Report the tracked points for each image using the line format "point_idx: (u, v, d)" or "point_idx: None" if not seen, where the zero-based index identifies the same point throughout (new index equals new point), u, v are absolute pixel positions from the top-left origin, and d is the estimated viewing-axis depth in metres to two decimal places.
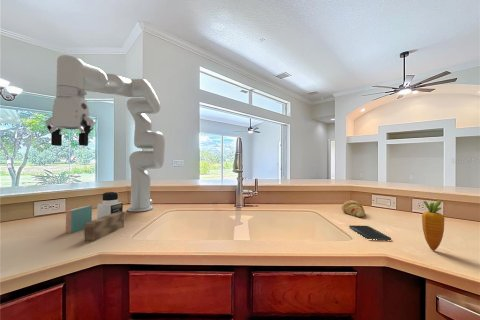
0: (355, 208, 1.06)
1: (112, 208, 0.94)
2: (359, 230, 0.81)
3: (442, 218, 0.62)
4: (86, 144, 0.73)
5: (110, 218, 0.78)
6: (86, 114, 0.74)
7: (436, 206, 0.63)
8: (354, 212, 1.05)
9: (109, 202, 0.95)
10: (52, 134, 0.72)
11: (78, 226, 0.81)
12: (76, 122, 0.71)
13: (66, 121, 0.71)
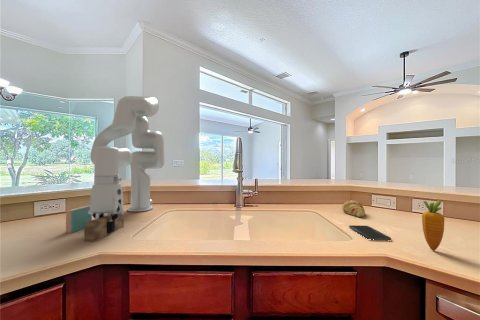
0: (355, 208, 1.06)
1: None
2: (359, 230, 0.81)
3: (442, 218, 0.62)
4: (113, 230, 0.79)
5: None
6: (121, 198, 0.78)
7: (436, 206, 0.63)
8: (354, 212, 1.05)
9: None
10: None
11: (78, 226, 0.81)
12: (113, 209, 0.75)
13: (103, 208, 0.76)
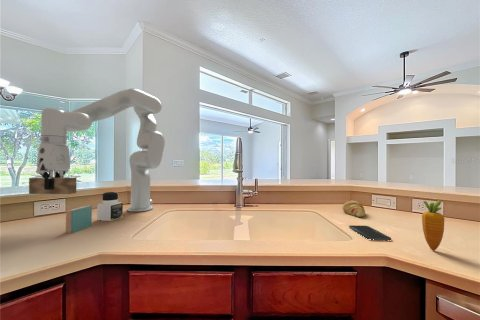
0: (355, 208, 1.06)
1: (112, 208, 0.94)
2: (359, 230, 0.81)
3: (442, 218, 0.62)
4: (50, 188, 0.82)
5: None
6: (43, 157, 0.79)
7: (436, 206, 0.63)
8: (354, 212, 1.05)
9: (109, 202, 0.95)
10: None
11: (78, 226, 0.81)
12: None
13: None
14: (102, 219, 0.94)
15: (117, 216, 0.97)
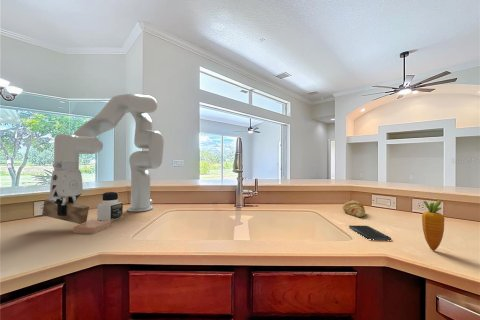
0: (355, 208, 1.06)
1: (112, 208, 0.94)
2: (359, 230, 0.81)
3: (442, 218, 0.62)
4: (63, 214, 0.81)
5: None
6: (56, 184, 0.79)
7: (436, 206, 0.63)
8: (354, 212, 1.05)
9: (109, 202, 0.95)
10: None
11: None
12: None
13: None
14: (102, 219, 0.94)
15: (117, 216, 0.97)
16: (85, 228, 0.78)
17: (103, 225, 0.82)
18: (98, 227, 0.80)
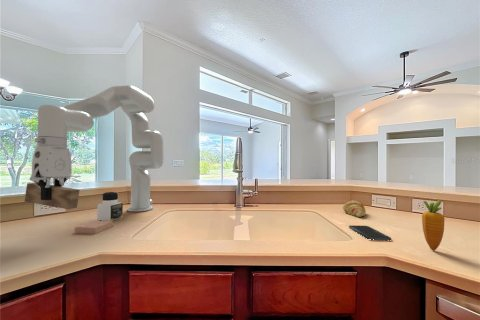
0: (355, 208, 1.06)
1: (112, 208, 0.94)
2: (359, 230, 0.81)
3: (442, 218, 0.62)
4: (47, 198, 0.69)
5: None
6: (39, 163, 0.67)
7: (436, 206, 0.63)
8: (354, 212, 1.05)
9: (109, 202, 0.95)
10: None
11: None
12: None
13: None
14: (102, 219, 0.94)
15: (117, 216, 0.97)
16: (87, 228, 0.78)
17: (105, 225, 0.82)
18: (100, 227, 0.80)
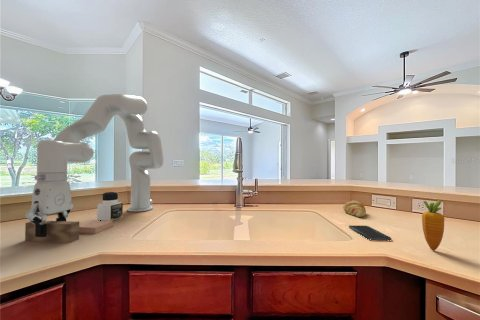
0: (355, 208, 1.06)
1: (112, 208, 0.94)
2: (359, 230, 0.81)
3: (442, 218, 0.62)
4: (42, 235, 0.67)
5: (48, 224, 0.70)
6: (39, 200, 0.66)
7: (436, 206, 0.63)
8: (354, 212, 1.05)
9: (109, 202, 0.95)
10: None
11: None
12: None
13: None
14: (102, 219, 0.94)
15: (117, 216, 0.97)
16: (87, 228, 0.78)
17: (104, 225, 0.82)
18: (100, 227, 0.80)
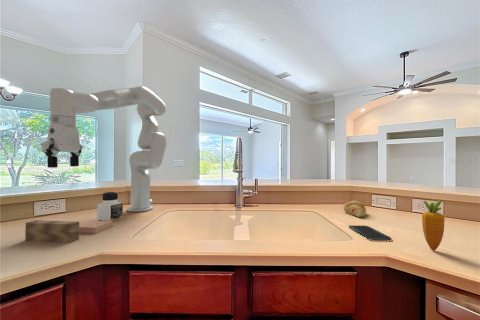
0: (355, 208, 1.06)
1: (112, 208, 0.94)
2: (359, 230, 0.81)
3: (442, 218, 0.62)
4: (54, 166, 0.78)
5: (48, 224, 0.70)
6: (54, 138, 0.78)
7: (436, 206, 0.63)
8: (354, 212, 1.05)
9: (109, 202, 0.95)
10: None
11: None
12: None
13: None
14: (102, 219, 0.94)
15: (117, 216, 0.97)
16: (86, 228, 0.78)
17: (104, 225, 0.82)
18: (99, 227, 0.80)
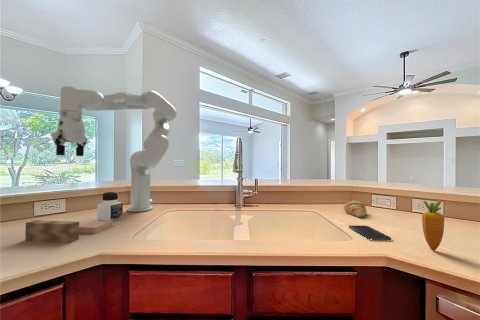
0: (355, 208, 1.06)
1: (112, 208, 0.94)
2: (359, 230, 0.81)
3: (442, 218, 0.62)
4: (62, 154, 0.89)
5: (48, 224, 0.70)
6: (62, 129, 0.89)
7: (436, 206, 0.63)
8: (354, 212, 1.05)
9: (109, 202, 0.95)
10: None
11: None
12: None
13: None
14: (102, 219, 0.94)
15: (117, 216, 0.97)
16: (86, 228, 0.78)
17: (104, 225, 0.82)
18: (99, 227, 0.80)
